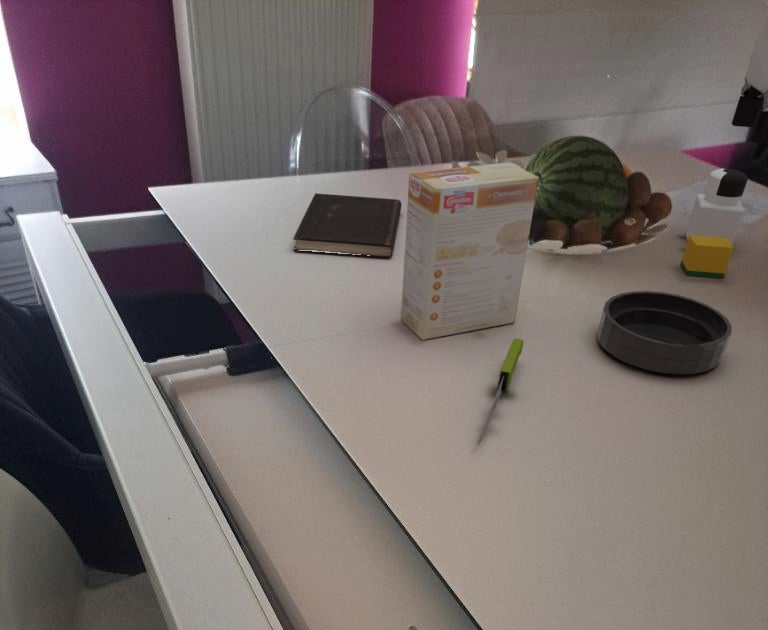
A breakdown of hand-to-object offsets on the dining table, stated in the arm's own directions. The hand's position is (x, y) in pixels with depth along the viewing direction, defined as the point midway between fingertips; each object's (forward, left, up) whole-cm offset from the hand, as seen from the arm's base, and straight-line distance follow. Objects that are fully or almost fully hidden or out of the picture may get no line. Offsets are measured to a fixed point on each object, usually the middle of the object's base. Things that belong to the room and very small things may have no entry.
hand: (751, 134), depth 109 cm
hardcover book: (+60, -4, -20) cm, 64 cm away
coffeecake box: (+41, +28, -20) cm, 54 cm away
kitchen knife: (+36, +49, -20) cm, 64 cm away
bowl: (+14, +31, -20) cm, 40 cm away
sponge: (+1, +2, -20) cm, 20 cm away
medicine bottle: (-3, -12, -20) cm, 24 cm away
